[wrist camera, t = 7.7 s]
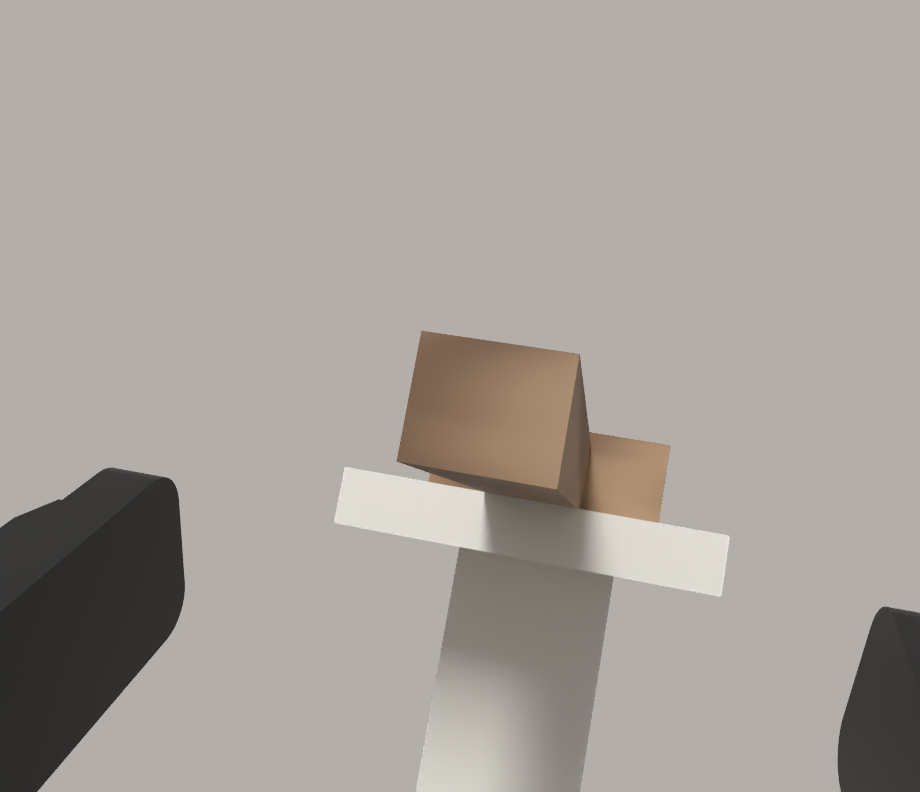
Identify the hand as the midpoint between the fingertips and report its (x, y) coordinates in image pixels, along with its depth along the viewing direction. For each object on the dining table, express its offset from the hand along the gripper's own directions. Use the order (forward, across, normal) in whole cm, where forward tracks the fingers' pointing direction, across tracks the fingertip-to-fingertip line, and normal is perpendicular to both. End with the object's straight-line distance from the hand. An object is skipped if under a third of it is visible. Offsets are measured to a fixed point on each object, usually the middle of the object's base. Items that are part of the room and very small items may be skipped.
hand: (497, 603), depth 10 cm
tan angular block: (+12, -1, -6) cm, 14 cm away
